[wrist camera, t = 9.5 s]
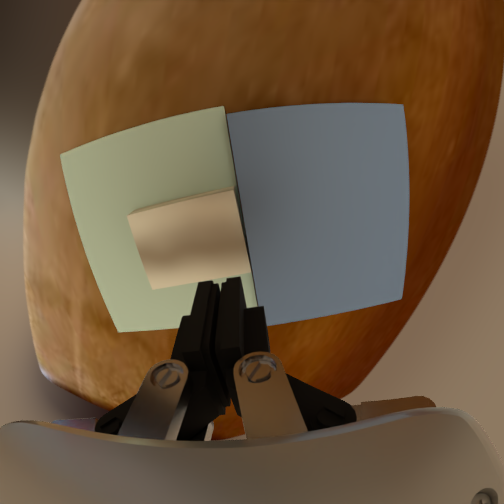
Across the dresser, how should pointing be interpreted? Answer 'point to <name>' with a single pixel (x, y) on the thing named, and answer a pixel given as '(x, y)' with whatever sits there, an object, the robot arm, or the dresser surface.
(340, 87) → the dresser surface
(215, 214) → the birch block
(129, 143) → the mat
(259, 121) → the slate blue tile
